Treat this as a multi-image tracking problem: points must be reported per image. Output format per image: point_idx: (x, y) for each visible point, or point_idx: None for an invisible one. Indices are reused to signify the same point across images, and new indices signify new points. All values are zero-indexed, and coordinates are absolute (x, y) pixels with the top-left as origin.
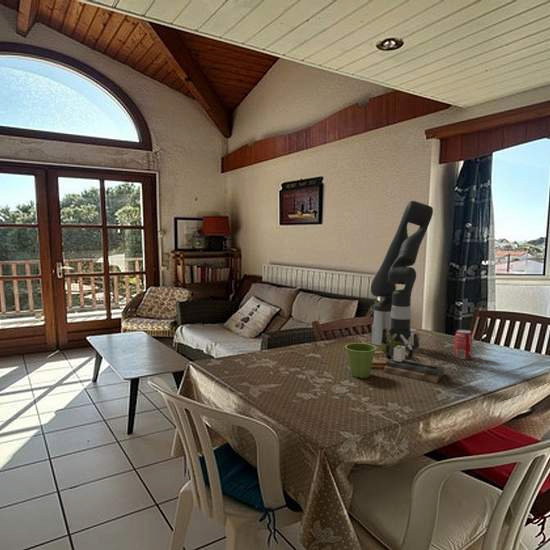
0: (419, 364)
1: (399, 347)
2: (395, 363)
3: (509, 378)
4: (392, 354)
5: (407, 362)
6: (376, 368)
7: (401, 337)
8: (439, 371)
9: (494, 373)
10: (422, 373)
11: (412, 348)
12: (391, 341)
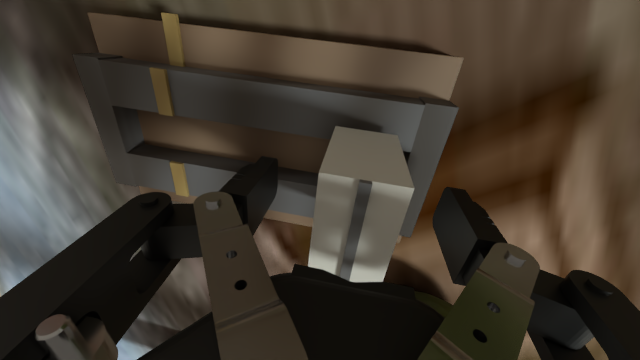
0: (231, 168)
1: (350, 224)
2: (375, 102)
3: (4, 225)
4: (419, 296)
5: (307, 181)
6: (508, 107)
7: (284, 327)
8: (90, 91)
9: (57, 252)
10: (178, 44)
11: (199, 204)
12: (475, 276)
